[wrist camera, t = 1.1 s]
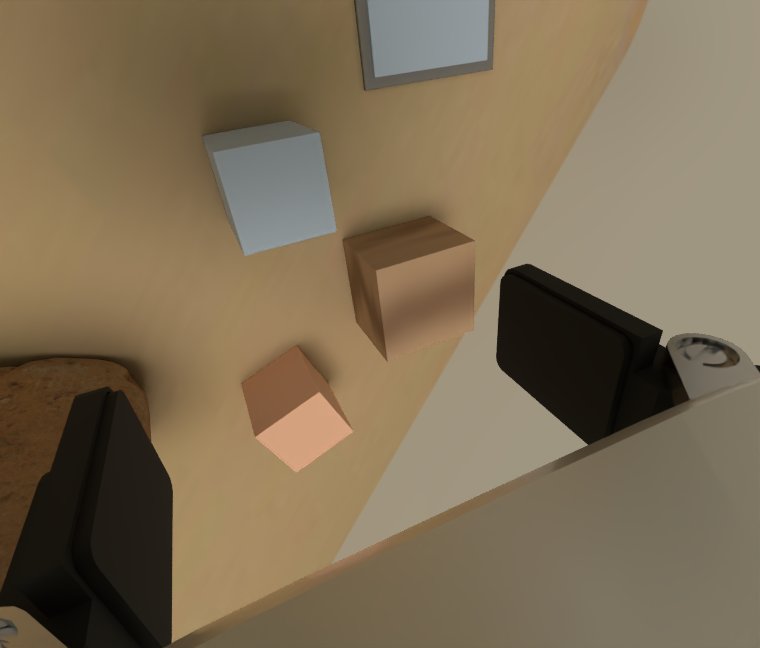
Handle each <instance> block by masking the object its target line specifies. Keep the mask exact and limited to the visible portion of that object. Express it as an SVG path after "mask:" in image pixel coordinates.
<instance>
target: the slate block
mask: <svg viewBox="0 0 760 648" xmlns="http://www.w3.org/2000/svg"><path fill="white" fill-rule="evenodd" d="M202 138H203V141H204V144H205V147H206V151H207V154H208V157H209V160H210V163H211V166H212V170H213V173H214V176H215V179H216V182H217V185H218V189H219V192H220V195H221V198H222V201H223V204H224V208H225V211H226V214H227V217H228V220H229V223H230V225H231V228H232V230H233V232H234V234H235V236H236V238H237V241H238V243H239V245H240V247H241V249H242V251H243V254H244V256H246V255H250V254H254V253H257V252H261V251H265V250H269V249H273V248H276V247H280V246H284V245H288V244H292V243H295V242H299V241H303V240H307V239H311V238H314V237H318V236H322V235H326V234H329V233H333V232H337V230H336V224H335V218H334V212H333V207H332V201H331V195H330V189H329V183H328V177H327V172H326V166H325V160H324V154H323V148H322V143H321V137H320V132H318V131H316V130H313V129H310V128H308V127H305V126H303V125H300V124H298V123H295V122H293V121H290V120H288V121H283V122H277V123H271V124H266V125H260V126H254V127H249V128H243V129H237V130H232V131H226V132H220V133H215V134H209V135H203V136H202Z"/></svg>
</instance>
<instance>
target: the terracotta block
mask: <svg viewBox="0 0 760 648" xmlns="http://www.w3.org/2000/svg"><path fill="white" fill-rule="evenodd" d="M241 384H242V388H243V392H244V396H245V400H246V404H247V408H248V412H249V416H250V419H251V423H252V427H253V431H254V435H255V438H257V439H258V440H259V441H260V442H261V443H262V444H264V445H265V446H266V447H267V448H268V449H269V450H271V451H272V452H273V453H274V454H275V455H276V456H278V457H279V458H280V459H281V460H282V461H283V462H285V463H286V464H287V465H288V466H289V467H290V468H292V469H293V470H294V471H295V472H298V471H299V470H301V469H302V468H303V467H305V466H306V465H308V464H309V463H310V462H312V461H313V460H314V459H316V458H317V457H319V456H320V455H321V454H323V453H324V452H326V451H327V450H328V449H330V448H331V447H333V446H334V445H335V444H337V443H338V442H339V441H341V440H342V439H344V438H345V437H346V436H348V435H349V434H351V433H352V432H353V429H352V428H351V426H350V424H349V422H348V420H347V418H346V416H345V414H344V412H343V411H342V409H341V407H340V405H339V403H338V401H337V399H336V397H335V396H334V394H333V392H332V390H331V388H330V386H329V384H328V383H327V382H326V380H325V379H324V378H323V377H322V376H321V374H320V373H319V372H318V371H317V370H316V368H315V367H314V366H313V365H312V364H311V362H310V361H309V360H308V359H307V358H306V356H305V355H304V354H303V353H302V352H301V350H300V349H299V348H298V347H297V346H295V347H293V348H292V349H291V350H289V351H288V352H286V353H285V354H283V355H282V356H280V357H279V358H278V359H276V360H275V361H273V362H272V363H270V364H269V365H267V366H266V367H265V368H263V369H262V370H260V371H259V372H257V373H256V374H254V375H253V376H252V377H250V378H249V379H247V380H246V381H244V382H243V383H241Z"/></svg>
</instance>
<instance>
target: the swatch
mask: <svg viewBox="0 0 760 648" xmlns="http://www.w3.org/2000/svg"><path fill="white" fill-rule="evenodd" d="M354 1H355V10H356V18H357V27H358V36H359V45H360V54H361V63H362V72H363V81H364V90H371V89H377V88H383V87H390V86H396V85H402V84H408V83H414V82H420V81H426V80H432V79H438V78H444V77H450V76H456V75H462V74H468V73H474V72H480V71H487V70H493V47H494V18H495V0H354Z"/></svg>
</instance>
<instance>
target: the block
mask: <svg viewBox="0 0 760 648" xmlns="http://www.w3.org/2000/svg"><path fill="white" fill-rule="evenodd" d="M106 386H108V387H110V388H111V389H112V390H113V392H114V391H117V390H122V391H123V392H124V393H125V395H126V396H127V398H128V400H129V402H130V404H131V406H132V408H133V410H134V411H135V413H136V415H137V417H138V419H139V421H140V423H141V424H142V426H143V428H144V430H145V432H146V434H147V436H148V438H149V439H150V441H151V430H150V417H149V410H148V403H147V398H146V395H145V392H144V390H143V389H142V388H141V387H139V386H138V385H137V384H136V382H135V381H134V380H133V379H132V377H131V376H130V374H129V372H128V371H127V369H126V368H125V367H123V366H121V365H119V364H116V363H114V362H110V361H104V360H98V359H84V358H51V359H45V360H38V361H31V362H28V363H26V364H23V365H21V366H19V367H14V366H8V367H1V368H0V592H1V589H2V586H3V583H4V580H5V577H6V574H7V572H8V569H9V566H10V563H11V560H12V557H13V554H14V551H15V548H16V546H17V543H18V540H19V537H20V534H21V531H22V528H23V525H24V523H25V520H26V517H27V514H28V511H29V508H30V505H31V502H32V499H33V497H34V494H35V491H36V488H37V485H38V483H39V481H40V479H41V477H42V476H43V475H44V474H45V473H47V472H50V470H51V467H52V464H53V461H54V458H55V454H56V451H57V448H58V445H59V442H60V439H61V436H62V433H63V430H64V427H65V424H66V421H67V418H68V415H69V412H70V409H71V405H72V402H73V399H74V397H75V396H76V395H79V394H82V393H86V392H89V391H93V390H96V389H99V388H103V387H106Z"/></svg>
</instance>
